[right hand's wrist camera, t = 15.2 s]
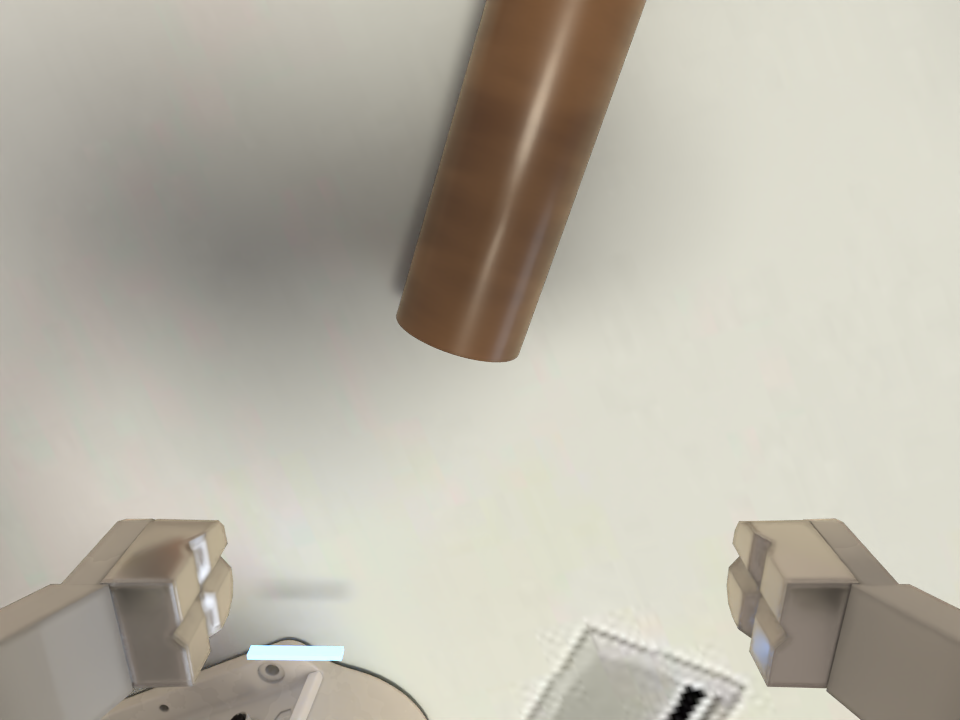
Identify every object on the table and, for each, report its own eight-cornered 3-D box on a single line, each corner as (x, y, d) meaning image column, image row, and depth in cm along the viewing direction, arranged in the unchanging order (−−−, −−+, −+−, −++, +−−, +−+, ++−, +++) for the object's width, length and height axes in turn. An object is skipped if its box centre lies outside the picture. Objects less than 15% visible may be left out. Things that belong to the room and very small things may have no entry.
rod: (518, 334, 35) (519, 375, 29) (406, 298, 34) (385, 333, 29) (690, -149, 27) (737, -222, 22) (550, -201, 27) (561, -290, 21)
